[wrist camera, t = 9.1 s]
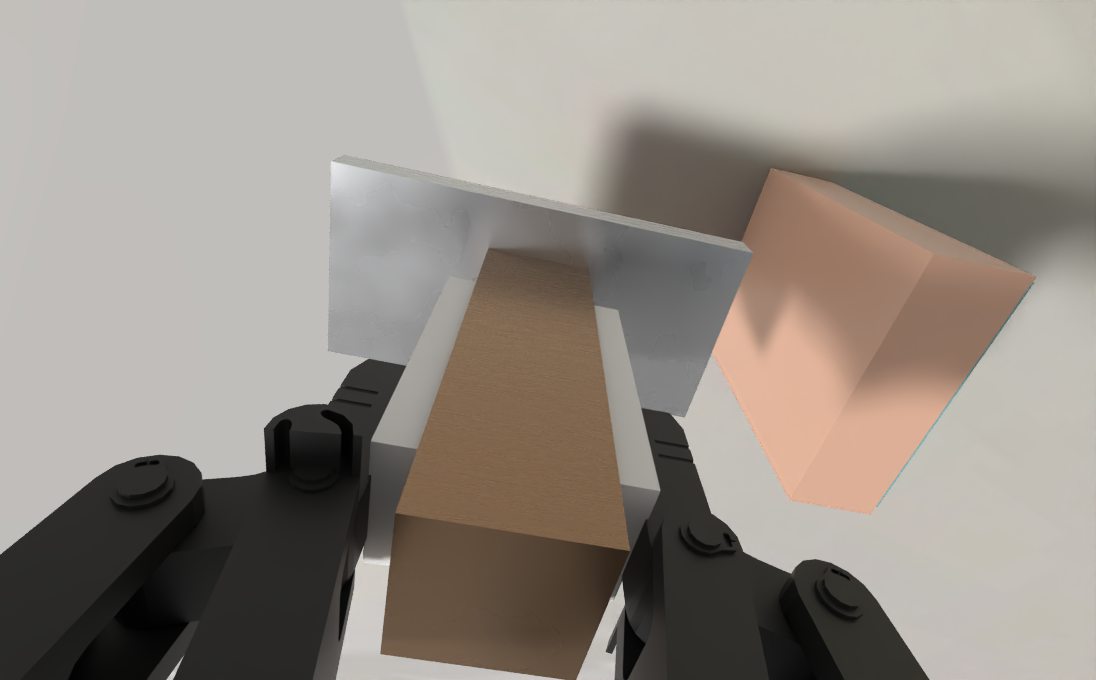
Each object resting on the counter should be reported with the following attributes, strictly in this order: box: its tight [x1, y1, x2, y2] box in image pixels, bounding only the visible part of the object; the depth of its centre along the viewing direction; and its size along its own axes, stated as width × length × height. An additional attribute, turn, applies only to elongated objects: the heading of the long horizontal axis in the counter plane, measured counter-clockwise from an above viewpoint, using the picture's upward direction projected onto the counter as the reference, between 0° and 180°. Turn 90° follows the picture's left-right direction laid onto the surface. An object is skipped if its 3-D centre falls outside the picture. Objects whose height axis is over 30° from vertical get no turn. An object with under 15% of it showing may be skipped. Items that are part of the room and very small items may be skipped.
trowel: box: [328, 155, 753, 680], centre depth 12 cm, size 12×6×11 cm, turn 78°
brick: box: [712, 168, 1036, 514], centre depth 21 cm, size 3×9×12 cm, turn 168°
